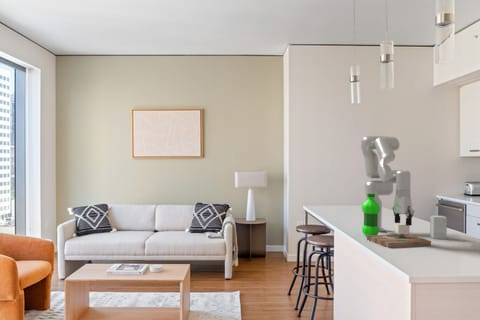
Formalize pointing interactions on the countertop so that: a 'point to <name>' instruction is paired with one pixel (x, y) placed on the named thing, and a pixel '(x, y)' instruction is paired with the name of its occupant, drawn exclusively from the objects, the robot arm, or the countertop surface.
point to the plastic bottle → (370, 216)
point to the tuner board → (398, 240)
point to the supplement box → (438, 227)
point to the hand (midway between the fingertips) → (402, 224)
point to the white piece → (400, 229)
